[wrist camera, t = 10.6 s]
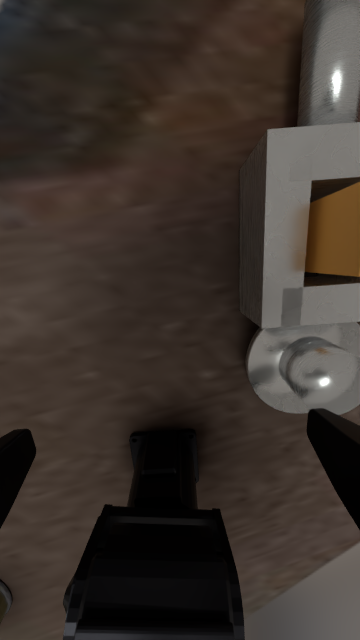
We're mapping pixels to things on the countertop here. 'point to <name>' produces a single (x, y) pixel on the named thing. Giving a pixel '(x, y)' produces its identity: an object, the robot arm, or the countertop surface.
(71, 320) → the countertop surface
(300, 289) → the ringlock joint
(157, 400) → the countertop surface
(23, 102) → the countertop surface
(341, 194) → the wedge
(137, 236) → the countertop surface
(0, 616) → the canister
